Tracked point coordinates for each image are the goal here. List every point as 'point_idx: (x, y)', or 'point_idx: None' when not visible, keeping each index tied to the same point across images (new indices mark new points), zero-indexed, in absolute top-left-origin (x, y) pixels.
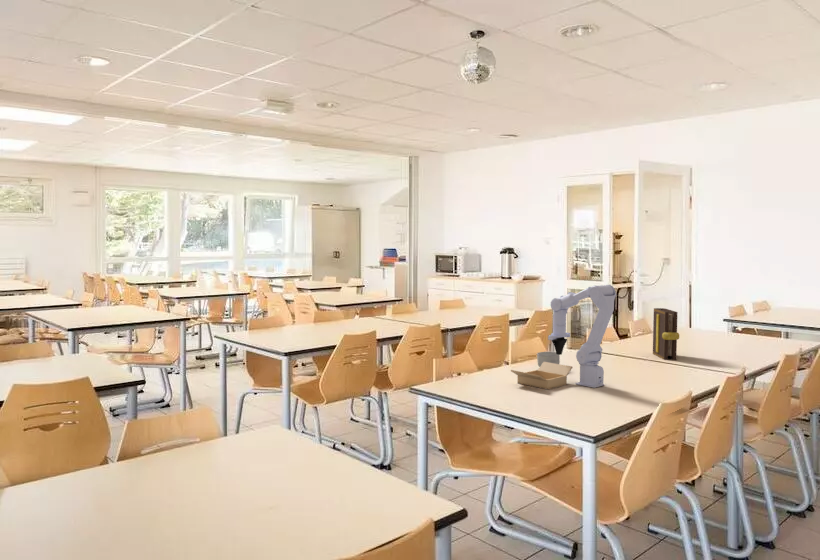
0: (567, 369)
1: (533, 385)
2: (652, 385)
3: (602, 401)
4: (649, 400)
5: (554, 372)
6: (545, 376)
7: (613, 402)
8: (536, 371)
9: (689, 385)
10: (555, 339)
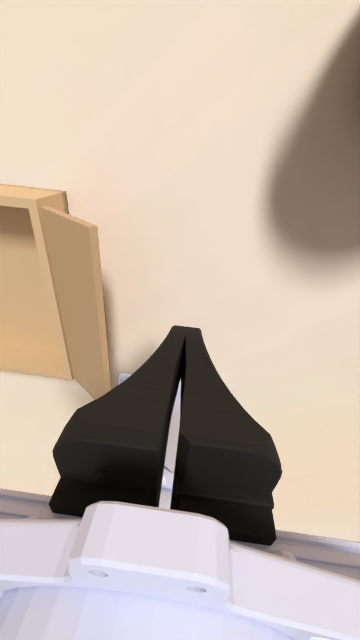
0: (92, 388)
1: None
2: None
3: (25, 459)
4: None
5: (65, 325)
6: None
7: (40, 472)
8: (28, 207)
9: (319, 530)
10: (64, 489)
